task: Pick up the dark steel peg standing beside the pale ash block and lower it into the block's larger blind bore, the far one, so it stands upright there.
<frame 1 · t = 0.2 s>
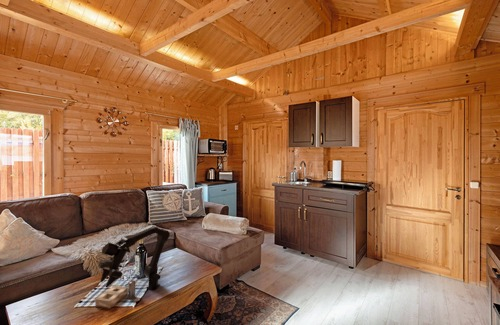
hand: (103, 284, 142), 14 cm above the table, tool tilted 30°, fingers open, 9 cm apart
bore block: (112, 300, 151), on the table
peg: (131, 297, 154), on the table
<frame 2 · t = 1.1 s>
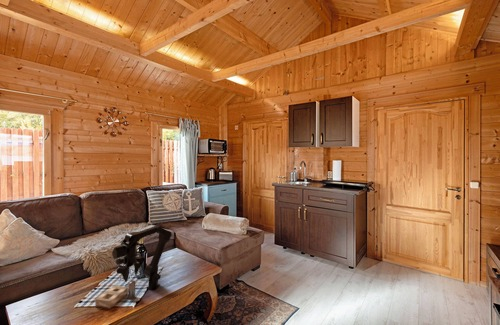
hand: (131, 277, 153), 13 cm above the table, tool pointing down, fingers open, 9 cm apart
nothing on the table moved.
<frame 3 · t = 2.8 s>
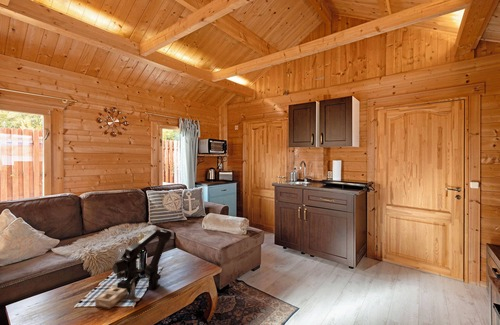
hand: (131, 291, 153), 4 cm above the table, tool pointing down, fingers closed on peg, 4 cm apart
peg: (131, 297, 154), on the table, touching gripper
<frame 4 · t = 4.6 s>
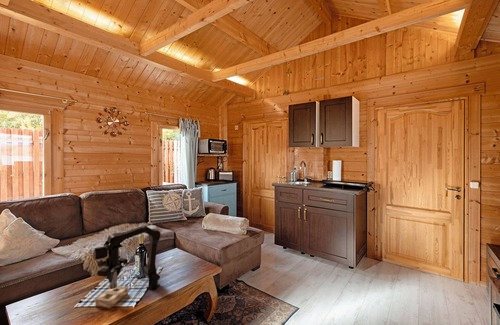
hand: (113, 280, 148), 14 cm above the table, tool pointing down, fingers closed on peg, 4 cm apart
peg: (113, 287, 148), point 10 cm above the table, touching gripper
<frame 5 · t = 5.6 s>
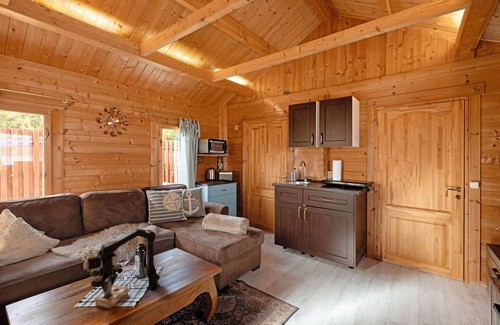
hand: (107, 290, 147), 8 cm above the table, tool pointing down, fingers closed on peg, 4 cm apart
peg: (107, 296, 147), point 4 cm above the table, touching gripper
when the fingers open (6 cm above the table, at t = 6.4 s): peg stays where it is, resting on bore block.
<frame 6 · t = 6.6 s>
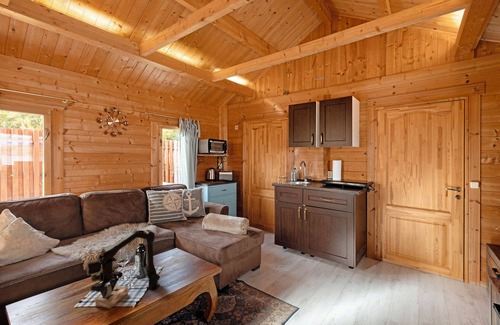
hand: (107, 294, 147), 6 cm above the table, tool pointing down, fingers open, 6 cm apart
peg: (107, 301, 147), point 1 cm above the table, touching bore block
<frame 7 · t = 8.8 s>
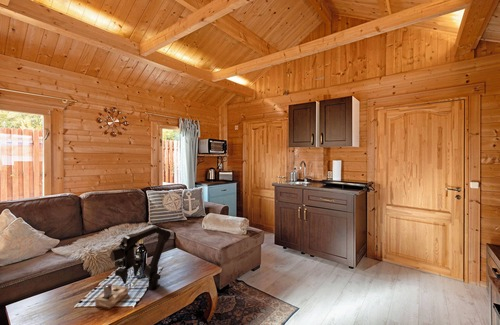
hand: (130, 279, 153), 12 cm above the table, tool pointing down, fingers open, 9 cm apart
nothing on the table moved.
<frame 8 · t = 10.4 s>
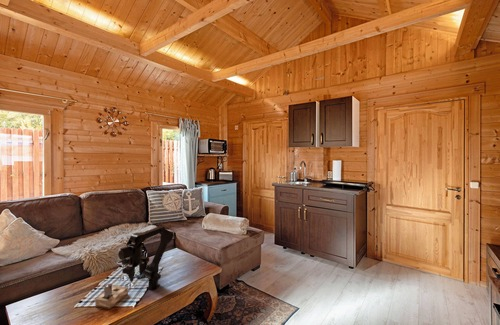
hand: (136, 277, 155), 12 cm above the table, tool pointing down, fingers open, 9 cm apart
nothing on the table moved.
at the end: peg 0.1 cm from the target spot on the bore block, point 1.0 cm above the bore block's base; peg tilted 1°; the gripper is holding nothing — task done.
